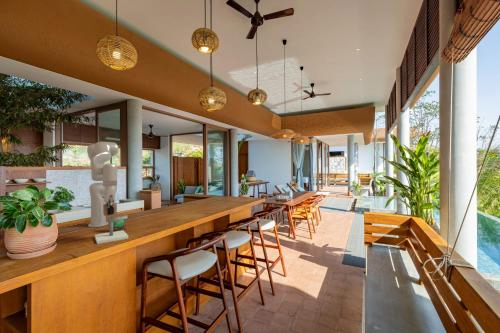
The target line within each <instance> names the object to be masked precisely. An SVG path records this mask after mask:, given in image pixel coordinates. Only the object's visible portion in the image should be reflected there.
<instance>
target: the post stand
mask: <svg viewBox="0 0 500 333" xmlns="http://www.w3.org/2000/svg"><path fill="white" fill-rule="evenodd" d="M108 225H109V230H108V231H109V232H103V233H97V234H94V239H95V241H96V244H97V245H99V244H104V243H109V242H110V243H111V242H116V241H121V240H127V239H129V235H128V234H127V233H126V231H125V230H122V231H116V232H113V222H110V223H109V222H108Z"/></svg>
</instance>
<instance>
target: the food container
mask: <svg viewBox="0 0 500 333" xmlns="http://www.w3.org/2000/svg"><path fill="white" fill-rule="evenodd" d="M128 217H129V216H128V215H123V216H120V215H117V216H116V215H115V216H108V217H107V220H108V221H109V222H108V224H109V223H110V222H113V232H116V231H122V230H124V231H126V227H127V219H128Z"/></svg>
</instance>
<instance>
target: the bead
mask: <svg viewBox="0 0 500 333" xmlns="http://www.w3.org/2000/svg"><path fill="white" fill-rule="evenodd" d="M117 210H118V204H116V202H114V214H108V204H107V203H106V204H103V214H104V216H106V217H107V216H108V217H110V216H116V215H117V216H118V211H117Z"/></svg>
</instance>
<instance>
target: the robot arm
mask: <svg viewBox="0 0 500 333" xmlns="http://www.w3.org/2000/svg"><path fill="white" fill-rule="evenodd" d="M86 150H87V151H86V153H87V156H88V159H89V161H90V164H89V166H90V171H91V175H90V176H91V179H92V180H93V181H94V183H91V184H90V185H89V189H88V190H89V196H90V223H89V224H88V227H89V228H96V227H97V228H99V227H104V226H107V225H109V222H108V221H107V216H104V214H103V204H108V214H114V203H116V194H117V190H118V188H117V187H118V170H119V169H118V165H117V164H116V163H107V162H109V161H110V160H111V159H112V157H114V156H116V155H117V154H118V153H119V145H118V144H117V143H116V142H112V141H97V142H95V143H94V144H90V145H88V146H87V148H86Z"/></svg>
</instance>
